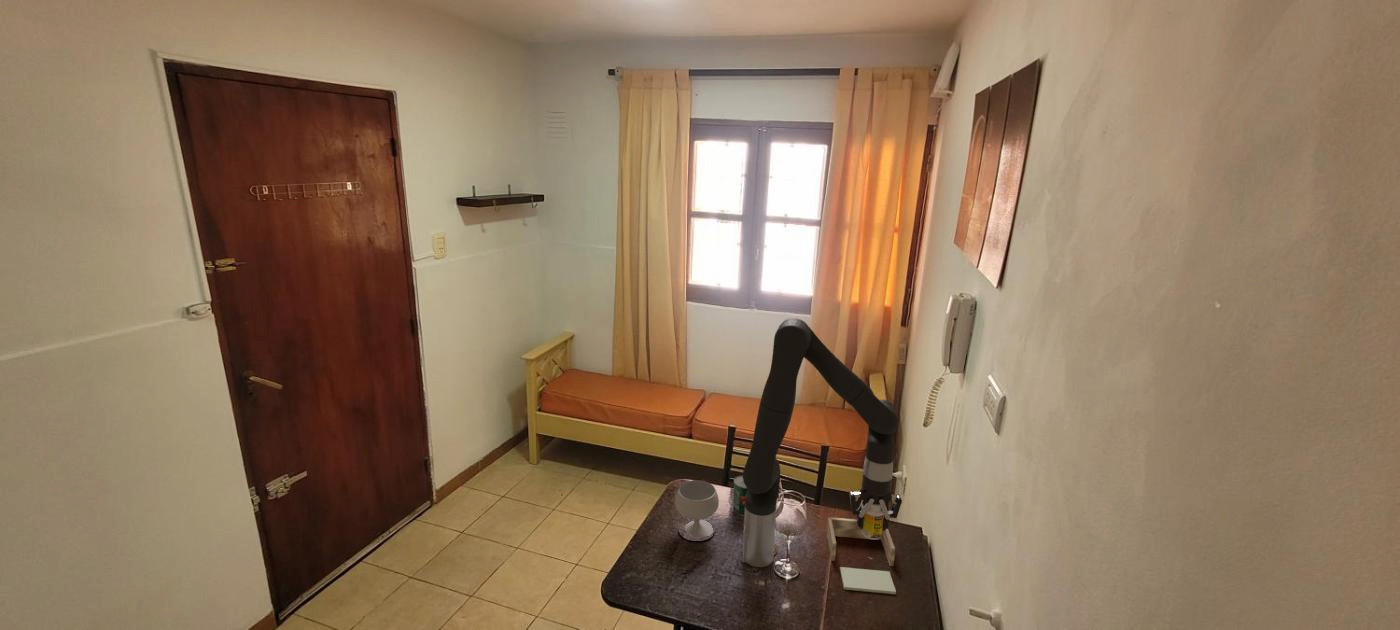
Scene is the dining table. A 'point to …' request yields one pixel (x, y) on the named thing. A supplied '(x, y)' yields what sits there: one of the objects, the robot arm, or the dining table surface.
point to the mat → (867, 580)
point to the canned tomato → (739, 495)
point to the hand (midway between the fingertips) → (872, 527)
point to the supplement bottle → (873, 522)
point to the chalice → (697, 506)
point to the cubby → (855, 536)
